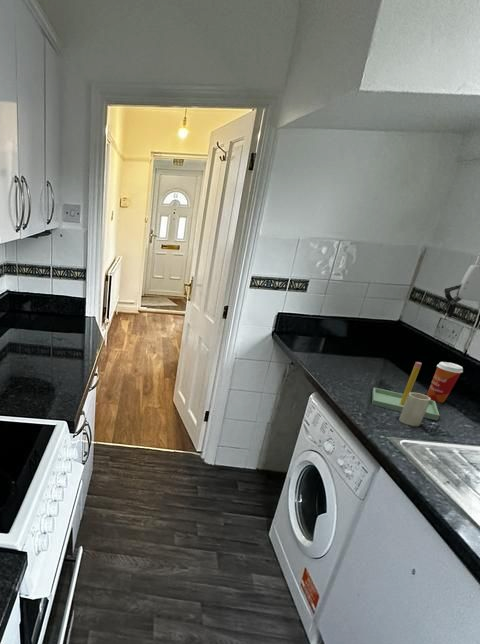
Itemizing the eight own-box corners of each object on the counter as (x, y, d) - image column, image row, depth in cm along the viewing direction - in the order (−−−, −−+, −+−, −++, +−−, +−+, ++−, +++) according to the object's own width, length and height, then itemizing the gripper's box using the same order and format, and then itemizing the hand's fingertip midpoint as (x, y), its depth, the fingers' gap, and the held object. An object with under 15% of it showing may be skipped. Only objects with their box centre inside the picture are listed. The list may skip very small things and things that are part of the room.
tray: (432, 405, 151) (435, 400, 150) (437, 420, 140) (439, 415, 139) (372, 392, 160) (373, 387, 159) (371, 405, 149) (373, 400, 148)
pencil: (405, 403, 150) (421, 362, 144) (405, 405, 149) (422, 364, 142) (399, 402, 151) (415, 361, 144) (399, 404, 149) (415, 362, 143)
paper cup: (418, 393, 160) (433, 360, 154) (439, 395, 159) (455, 362, 153) (430, 402, 153) (446, 368, 147) (452, 405, 152) (469, 370, 146)
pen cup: (418, 422, 138) (429, 395, 134) (420, 429, 133) (431, 401, 129) (397, 417, 140) (408, 390, 136) (398, 424, 136) (409, 396, 132)
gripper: (527, 264, 121) (501, 321, 128) (453, 258, 129) (433, 312, 136) (535, 267, 115) (507, 326, 122) (457, 260, 123) (435, 316, 130)
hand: (468, 319), depth 129 cm, fingers open, 9 cm apart
